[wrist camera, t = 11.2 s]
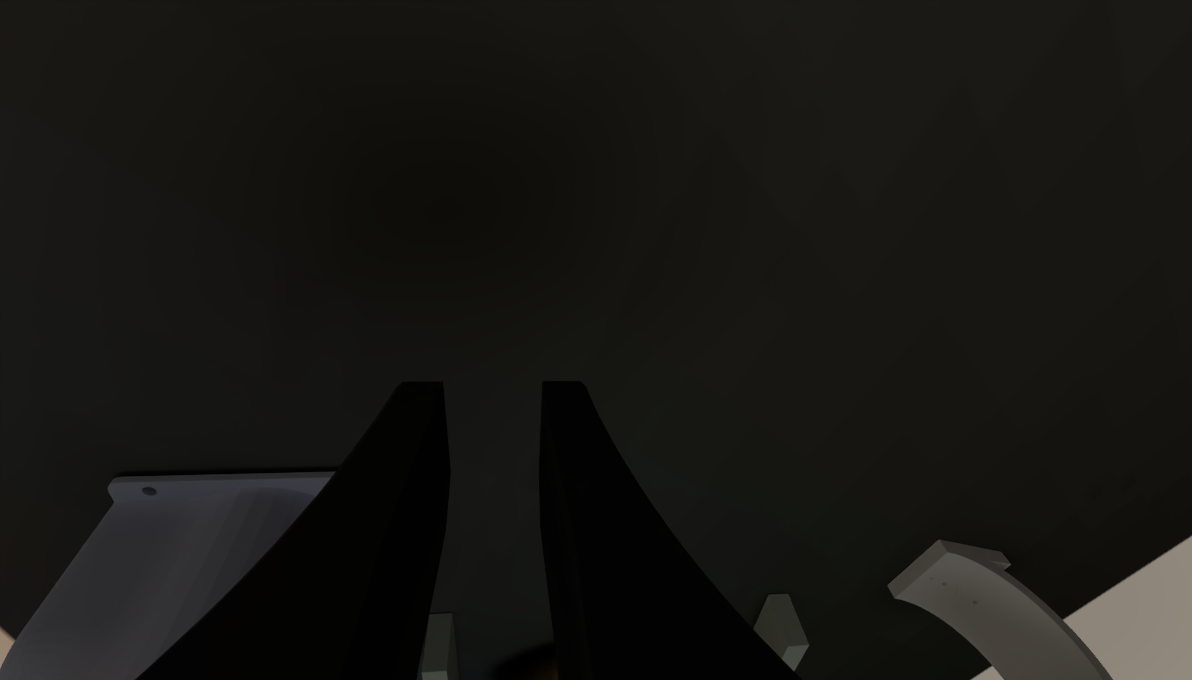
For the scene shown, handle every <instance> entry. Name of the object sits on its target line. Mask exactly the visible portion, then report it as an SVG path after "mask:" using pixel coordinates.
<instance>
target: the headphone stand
mask: <svg viewBox="0 0 1192 680" xmlns="http://www.w3.org/2000/svg"><path fill="white" fill-rule="evenodd" d="M1010 565H1011V564H1010V562H1009V561H1008V560H1007V559H1006V557H1005V556H1004V555H1003V553H1002V552H999V551H994V550H989V549H984V548H979V547H974V546H969V545H965V544H960V543H955V542H950V541H945V540H940V539H939V540H937V541H936V542H935V543H934V544H933V545H932V546H931V547H930V548H929V549H927V550H926V551H925V552H924V553H923V554H922V555H921V556H920V557H918V558H917V559H916V560H915V561H914V562H913V563H912V564H911V565H909V566H908V567H907V568H906V569H905V570H904V571H903V572H902V573H900V574H899V575H898V576H897V577H896V578H895V579H894V580H893V581H891V582H890V583H889V584H888V585H887V586H888V588H889V589H890V591H891V593H892V595H893V596H894V598H896V599H900V600H904V601H907V602H910V603H913V604H915V605H917V606H920V607H922V608H924V609H925V610H927V611H929V612H931V613H932V614H934V615H936V616H937V617H939V618H940V619H942V620H943V621H945V622H946V623H948V624H949V625H950V626H951V627H953V628H954V629H955V630H957V631H958V632H959V633H960V634H961V635H963V636H964V637H965V638H966V639H967V640H968V641H969V642H970V643H971V644H972V645H974V646H975V647H976V648H977V649H978V650H979V651H980V652H981V653H982V654H983V656H984V657H985V658H986V659H987V660H988V661H989V662H990V663H991V664H992V665H993V667H994V668H995V669H996V670H997V671H998V672H999V674H1000V675H1001V676H1002V677H1003V679H1004V680H1113V679H1112V678H1111V676H1110V675H1109V674H1108V672H1107V671H1106V669H1105V668H1104V667H1103V666H1102V664H1101V663H1100V662H1099V660H1098V659H1097V658H1096V657H1095V655H1094V654H1093V653H1092V652H1091V651H1090V649H1089V648H1088V647H1087V646H1086V645H1085V644H1084V642H1083V641H1082V640H1081V639H1080V638H1079V637H1078V636H1077V635H1076V633H1075V632H1073V630H1072V629H1070V627H1069V626H1068V625H1067V624H1066V623H1065V622H1064V621H1063V620H1062V619H1061V618H1060V617H1059V616H1058V615H1057V614H1056V613H1055V612H1054V611H1053V610H1052V609H1051V608H1049V607H1048V606H1047V605H1046V604H1045V603H1044V602H1043V601H1042V600H1041V599H1040V598H1038V597H1037V596H1036V595H1035V594H1034V593H1033V592H1031V591H1030V590H1029V589H1028V588H1026V587H1025V586H1024V585H1023V584H1021V583H1020V582H1019V581H1018V580H1016V579H1015V578H1013V577H1012V576H1011V575H1009V574H1008V573H1007V572H1005V571H1004V570H1005V569H1006V568H1007V567H1009V566H1010Z"/></svg>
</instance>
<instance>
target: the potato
mask: <svg viewBox="0 0 1192 680" xmlns="http://www.w3.org/2000/svg"><path fill="white" fill-rule="evenodd" d="M506 680H558V670H557V659H556V654H555V655H551V656H546V657H543V658H541V659H539V660H537V661H535V662H533V663H531V664H529V665H528V666H526V667H524V668H522V669H520V670H518V671H516V672H515V673H513V674H512V675H510V676H509V677H508V678H507V679H506Z"/></svg>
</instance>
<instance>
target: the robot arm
mask: <svg viewBox="0 0 1192 680" xmlns="http://www.w3.org/2000/svg"><path fill="white" fill-rule="evenodd" d="M450 474H451V469H450V458H449V446H448V435H447V423H446V412H445V401H444V389H443V382H402V383H401V384H400V385H399V386H398V387H396V389H395V390H394V392H393V394H392V395H391V397H390V398H389V400H388V401H387V403H386V404H385V406H384V407H383V409H382V410H381V412H380V413H379V414H378V416H377V417H376V419H375V420H374V422H373V423H372V424H371V426H370V427H369V429H368V430H367V431H366V433H365V434H364V435H363V437H362V438H361V440H360V441H359V442H358V444H357V445H356V446H355V448H354V449H353V450H352V452H351V453H350V454H349V455H348V457H347V458H346V459H345V461H344V462H343V463H342V464H341V466H340V467H339V468H338V469H337V471H336V472H296V473H255V474H213V475H171V476H129V477H117V478H115V479H113V481H112V482H111V483H110V485H109V486H108V488H107V489H108V492H109V494H110V495H111V497H112V499H113V500H114V502H115V503H114V504H113V505H112V506H111V508H110V509H109V511H108V512H107V513H106V515H105V516H104V518H103V519H102V520H101V522H100V523H99V524H98V526H97V527H96V529H95V530H94V531H93V533H92V534H91V536H90V537H89V538H88V540H87V541H86V543H85V544H84V545H83V547H82V548H81V550H80V551H79V552H78V554H77V555H76V556H75V558H74V559H73V561H72V562H71V563H70V565H69V566H68V568H67V569H66V570H65V572H64V573H63V575H62V576H61V577H60V579H59V580H58V582H57V583H56V584H55V586H54V587H53V589H52V590H51V591H50V593H49V594H48V595H47V597H46V598H45V600H44V601H43V602H42V604H41V605H40V607H39V608H38V609H37V611H36V612H35V614H34V615H33V616H32V618H31V619H30V621H29V622H28V623H27V625H26V626H25V627H24V629H23V630H22V632H21V633H20V635H19V636H18V638H17V639H16V641H15V642H14V644H13V646H12V647H11V649H10V651H9V653H8V654H7V656H6V658H5V660H4V662H3V664H2V667H1V669H0V680H416V679H417V673H418V667H419V662H420V657H421V652H422V647H423V642H424V637H425V632H426V627H427V622H428V617H429V612H430V607H431V602H432V597H433V592H434V587H435V582H436V577H437V572H438V567H439V562H440V557H441V552H442V547H443V541H444V536H445V531H446V521H447V510H448V498H449V486H450ZM539 494H540V529H541V537H542V545H543V554H544V562H545V570H546V578H547V586H548V594H549V602H550V611H551V619H552V627H553V635H554V643H555V651H556V659H557V670H558V680H802V679H801V678H800V677H799V676H798V675H797V674H796V673H795V672H794V671H793V670H792V669H791V668H790V667H789V666H788V665H787V664H786V663H785V662H784V661H783V660H782V659H781V657H780V656H779V655H778V654H777V653H776V652H775V651H774V650H773V649H772V648H771V647H770V646H769V645H768V644H767V643H766V642H765V641H764V640H763V639H762V638H761V637H760V636H759V635H758V634H757V633H756V632H755V631H754V630H753V629H752V628H751V627H750V626H749V624H748V623H747V622H746V621H745V620H744V619H743V618H742V617H741V615H740V614H739V613H738V612H737V611H736V610H735V609H734V608H733V606H732V605H731V604H730V603H729V602H728V601H727V600H726V598H725V597H724V596H723V595H722V594H721V593H720V592H719V590H718V589H717V588H716V587H715V586H714V585H713V583H712V582H711V581H710V580H709V578H708V577H707V576H706V575H705V574H704V572H703V571H702V570H701V569H700V568H699V566H698V565H697V564H696V563H695V562H694V560H693V559H692V558H691V556H690V555H689V554H688V553H687V551H686V550H685V549H684V547H683V546H682V545H681V544H680V542H679V541H678V540H677V538H676V537H675V536H674V534H673V533H672V532H671V530H670V529H669V527H668V526H667V525H666V523H665V522H664V520H663V519H662V518H661V516H660V515H659V513H658V512H657V511H656V509H655V508H654V506H653V505H652V503H651V502H650V501H649V499H648V498H647V496H646V495H645V493H644V492H643V490H642V489H641V487H640V486H639V484H638V482H637V481H636V479H635V477H634V476H633V474H632V473H631V471H630V469H629V468H628V466H627V465H626V463H625V461H624V460H623V458H622V457H621V455H620V453H619V452H618V450H617V448H616V446H615V445H614V443H613V441H612V439H611V438H610V436H609V434H608V432H607V430H606V428H605V426H604V425H603V423H602V421H601V419H600V417H599V415H598V413H597V411H596V409H595V407H594V405H593V402H592V400H591V398H590V396H589V393H588V391H587V388H586V386H585V385H584V384H582V383H581V382H580V381H542V407H541V432H540V457H539Z"/></svg>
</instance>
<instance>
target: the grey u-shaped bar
mask: <svg viewBox="0 0 1192 680" xmlns="http://www.w3.org/2000/svg"><path fill="white" fill-rule="evenodd" d="M753 630H754V631H755V632H756V633H757V634H758V635H759V636H760V637H761V638H762V639H763V640H764V641H765V642H766V643H767V644H768V645H769V646H770V647H771V648H772V649H773V650H774V651H775V652H776V653H777V654H778V655H779V656H780V657H781V659H782V660H783V661H784V662H785V663H786V664H787V665H788V666H789V667H790V668H791V669H792V670H793V671H795V669H796V667H797V665H798V664H799V662H800V660H801V658H802V657H803V655H804V653H805V651H806V650H807V648H808V646H809V644H808V641H807V639H806V636H805V634H804V631H803V629H802V627H801V624H800V622H799V619H798V617H797V614H796V612H795V609H794V607H793V605H792V602H791V600H790V597H789V595H788V594H771V595H768V597H767V599H766V601H765V604H764V606H763V608H762V610H761V612H760V615H759V617H758V619H757V621H756V624H755V626H754V628H753ZM422 677H423V680H459V671H458V661H457V652H456V643H455V633H454V624H453V615H452V613H442V614H429V621H428V629H427V636H426V644H425V651H424V659H423V666H422Z"/></svg>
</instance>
